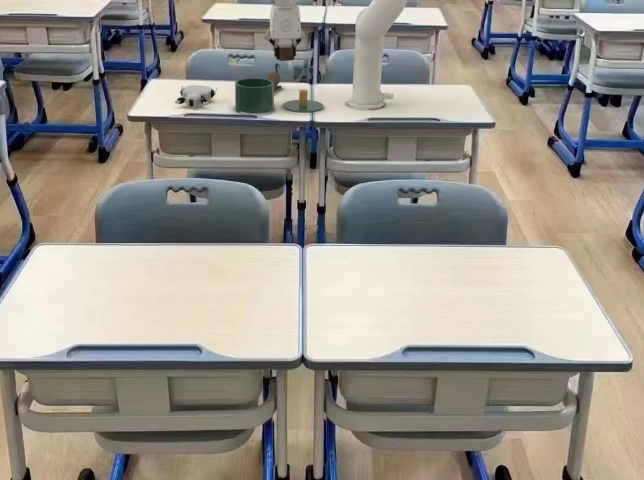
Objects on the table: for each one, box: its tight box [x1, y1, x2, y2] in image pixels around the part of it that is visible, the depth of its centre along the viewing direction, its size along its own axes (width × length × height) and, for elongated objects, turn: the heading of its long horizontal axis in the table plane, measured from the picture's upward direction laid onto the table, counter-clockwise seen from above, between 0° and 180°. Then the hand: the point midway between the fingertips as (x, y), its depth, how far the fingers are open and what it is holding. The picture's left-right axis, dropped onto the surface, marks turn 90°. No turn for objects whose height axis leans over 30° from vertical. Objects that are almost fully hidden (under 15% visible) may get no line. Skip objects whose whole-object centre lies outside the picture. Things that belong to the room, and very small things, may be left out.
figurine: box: [267, 63, 283, 94], centre depth 293 cm, size 14×4×9 cm, turn 165°
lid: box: [282, 88, 324, 114], centre depth 273 cm, size 14×14×6 cm
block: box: [278, 44, 294, 62], centre depth 275 cm, size 4×4×4 cm
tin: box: [234, 77, 275, 115], centre depth 270 cm, size 13×13×9 cm
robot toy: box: [174, 84, 218, 108], centre depth 276 cm, size 12×4×15 cm
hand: (285, 58), depth 276 cm, fingers closed on block, 4 cm apart
